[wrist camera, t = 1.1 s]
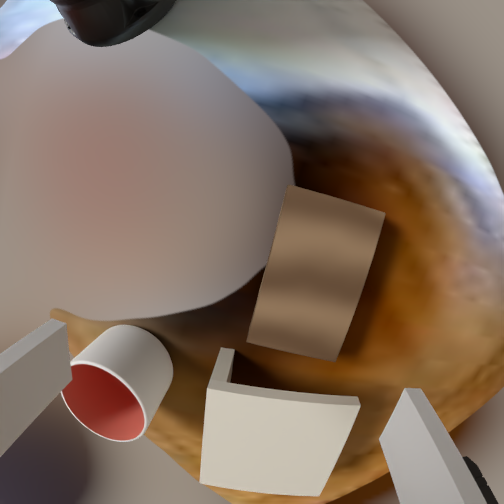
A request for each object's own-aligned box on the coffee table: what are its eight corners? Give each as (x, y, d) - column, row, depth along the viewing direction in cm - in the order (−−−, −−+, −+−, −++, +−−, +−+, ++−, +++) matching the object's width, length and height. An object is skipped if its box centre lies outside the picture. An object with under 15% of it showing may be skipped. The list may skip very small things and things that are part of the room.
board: (287, 185, 31) (288, 184, 27) (372, 210, 30) (385, 213, 27) (249, 325, 34) (246, 341, 30) (329, 344, 33) (335, 361, 30)
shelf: (221, 347, 34) (207, 388, 26) (345, 363, 33) (360, 405, 25) (211, 440, 37) (199, 483, 29) (314, 452, 36) (319, 496, 28)
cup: (184, 339, 34) (154, 388, 24) (168, 402, 36) (142, 455, 26) (106, 308, 34) (58, 344, 24) (99, 373, 36) (60, 415, 26)
